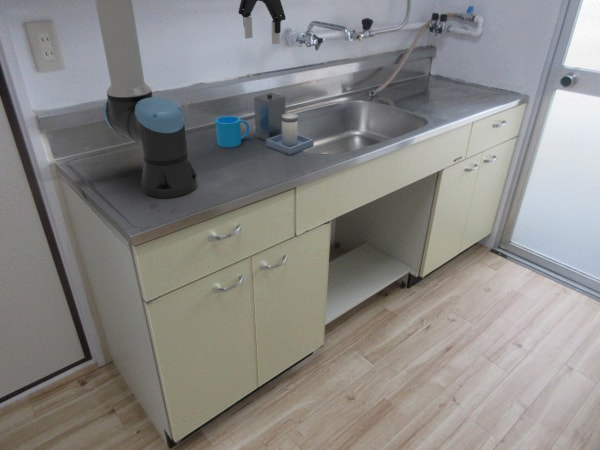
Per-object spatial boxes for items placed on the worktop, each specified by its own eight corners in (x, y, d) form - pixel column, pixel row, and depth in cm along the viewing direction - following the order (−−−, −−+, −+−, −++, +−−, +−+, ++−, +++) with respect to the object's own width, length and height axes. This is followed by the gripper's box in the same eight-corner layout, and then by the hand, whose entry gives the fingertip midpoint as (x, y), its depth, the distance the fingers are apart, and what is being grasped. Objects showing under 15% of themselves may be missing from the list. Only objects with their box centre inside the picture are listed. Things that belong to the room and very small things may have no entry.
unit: (269, 141, 158) (268, 99, 150) (255, 136, 162) (254, 94, 154) (286, 135, 163) (285, 94, 156) (272, 130, 167) (271, 90, 160)
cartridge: (289, 148, 151) (289, 119, 146) (278, 144, 154) (278, 115, 149) (300, 144, 154) (301, 115, 149) (289, 140, 158) (289, 112, 153)
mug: (223, 149, 152) (221, 125, 148) (213, 141, 158) (211, 118, 154) (255, 142, 158) (254, 119, 153) (244, 135, 163) (243, 112, 159)
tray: (290, 155, 148) (290, 148, 147) (265, 146, 155) (265, 139, 153) (313, 146, 155) (313, 139, 154) (289, 137, 162) (289, 131, 160)
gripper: (297, -32, 135) (296, 44, 146) (243, -35, 150) (246, 34, 161) (278, -31, 130) (279, 47, 141) (225, -35, 145) (229, 37, 156)
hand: (261, 40), depth 151 cm, fingers open, 13 cm apart
